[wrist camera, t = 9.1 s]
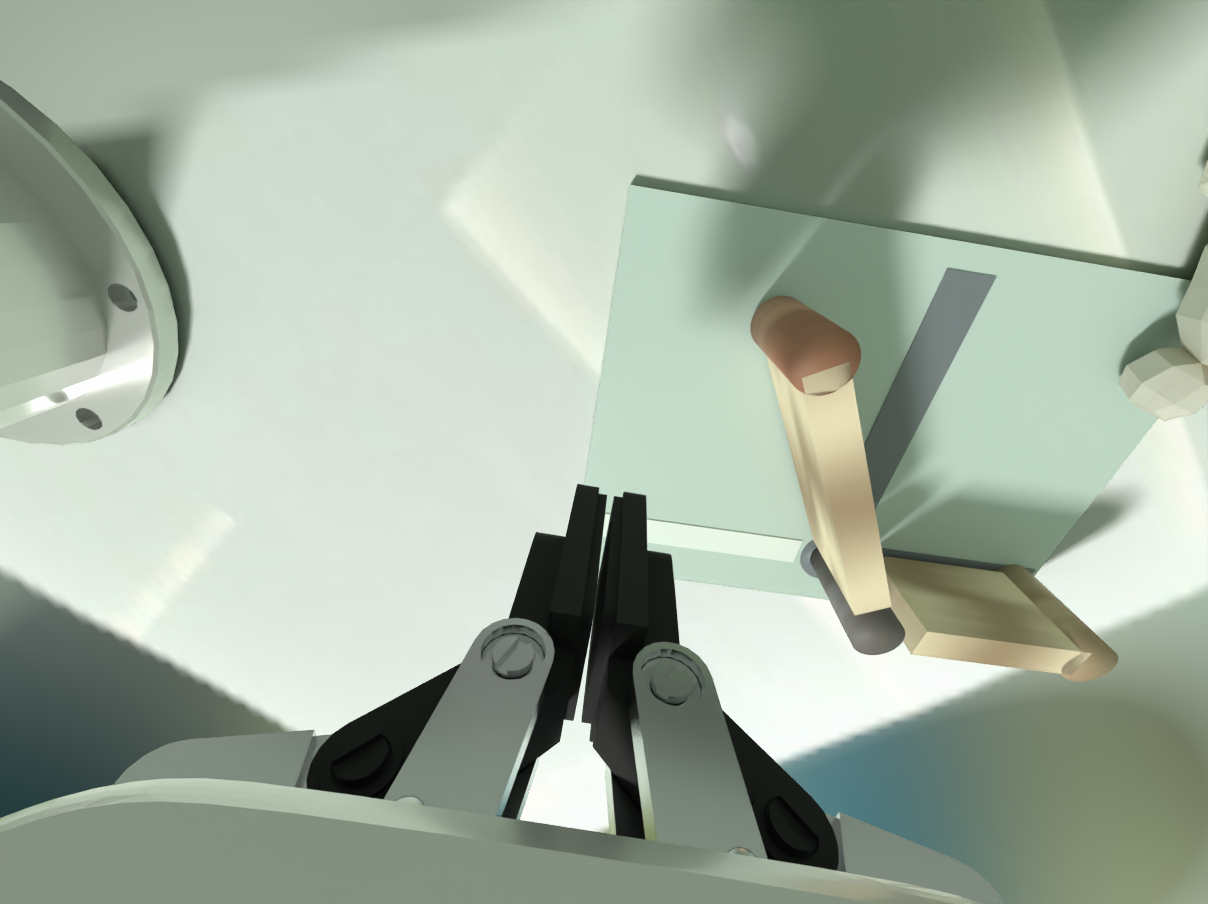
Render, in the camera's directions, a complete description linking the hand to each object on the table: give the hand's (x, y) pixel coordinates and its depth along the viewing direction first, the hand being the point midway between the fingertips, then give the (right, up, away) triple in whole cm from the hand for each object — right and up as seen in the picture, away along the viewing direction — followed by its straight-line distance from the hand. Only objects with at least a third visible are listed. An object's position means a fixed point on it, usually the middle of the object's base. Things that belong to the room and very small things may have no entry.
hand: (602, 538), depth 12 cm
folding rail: (+7, +3, +6) cm, 10 cm away
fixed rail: (+14, -3, +9) cm, 17 cm away
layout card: (+10, +2, +7) cm, 12 cm away
